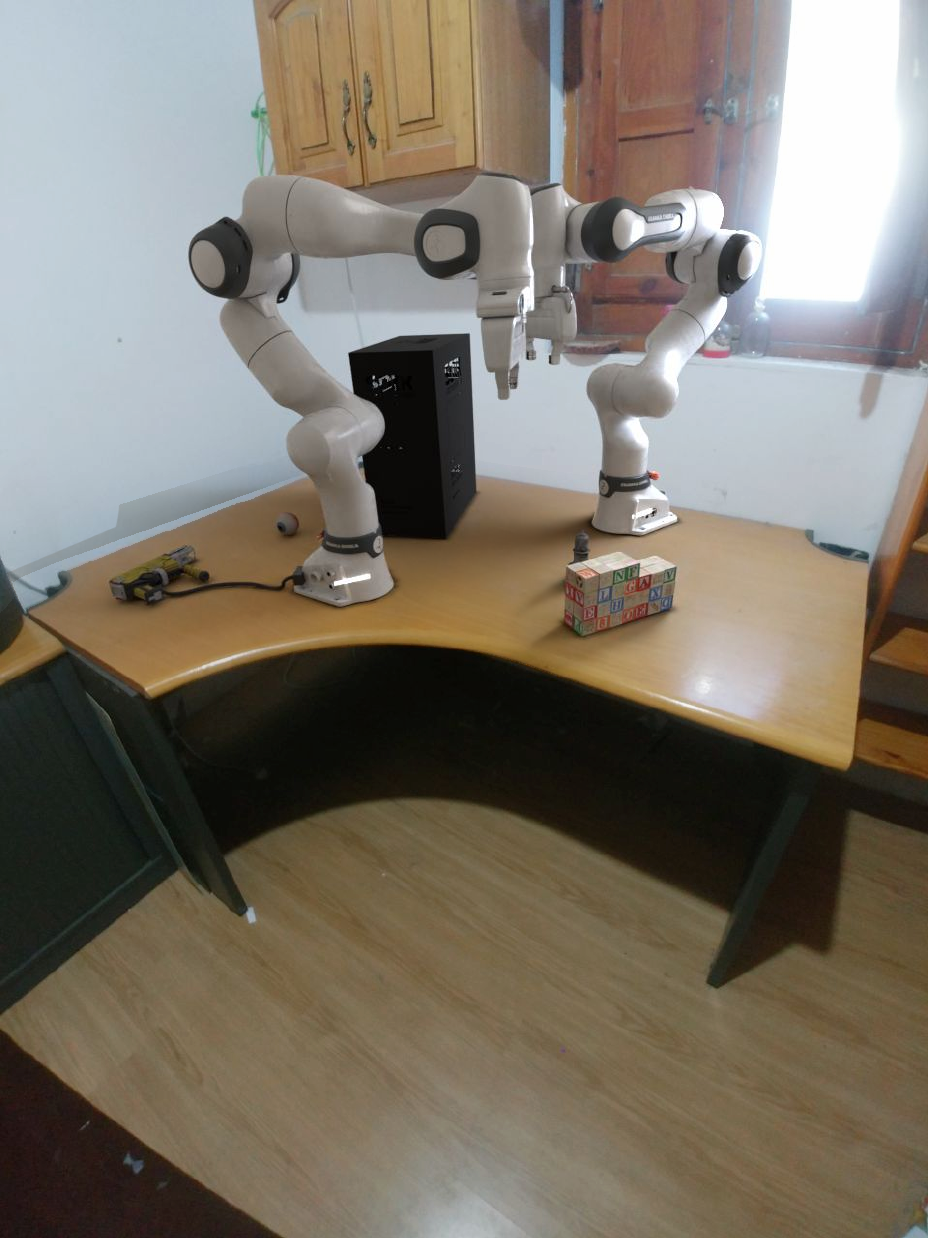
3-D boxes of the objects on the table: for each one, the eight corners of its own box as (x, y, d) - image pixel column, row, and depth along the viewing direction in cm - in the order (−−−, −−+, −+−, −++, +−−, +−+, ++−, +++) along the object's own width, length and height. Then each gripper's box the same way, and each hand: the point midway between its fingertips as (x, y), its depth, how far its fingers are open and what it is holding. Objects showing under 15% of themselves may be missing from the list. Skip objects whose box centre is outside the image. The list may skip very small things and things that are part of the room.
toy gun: (232, 553, 147) (182, 542, 151) (158, 593, 127) (102, 580, 131) (234, 570, 150) (185, 559, 154) (162, 613, 130) (107, 599, 134)
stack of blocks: (651, 596, 124) (657, 540, 118) (672, 608, 119) (680, 551, 113) (563, 622, 117) (565, 564, 111) (581, 637, 112) (585, 577, 106)
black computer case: (446, 538, 156) (432, 350, 134) (372, 535, 161) (348, 352, 138) (476, 491, 188) (469, 333, 165) (414, 490, 192) (399, 335, 170)
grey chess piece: (593, 587, 128) (596, 535, 122) (565, 586, 130) (567, 534, 124) (593, 575, 133) (596, 524, 127) (566, 574, 135) (568, 524, 129)
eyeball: (273, 537, 164) (268, 516, 161) (287, 528, 169) (282, 508, 166) (291, 539, 161) (286, 518, 158) (305, 530, 166) (301, 510, 163)
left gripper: (497, 298, 103) (500, 383, 110) (473, 305, 86) (478, 406, 93) (533, 295, 102) (534, 382, 109) (517, 302, 85) (519, 404, 91)
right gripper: (586, 284, 110) (583, 365, 117) (530, 284, 127) (531, 355, 134) (556, 286, 108) (555, 369, 115) (504, 287, 125) (506, 359, 132)
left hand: (508, 393), depth 101 cm, fingers open, 8 cm apart
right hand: (542, 362), depth 125 cm, fingers open, 8 cm apart
